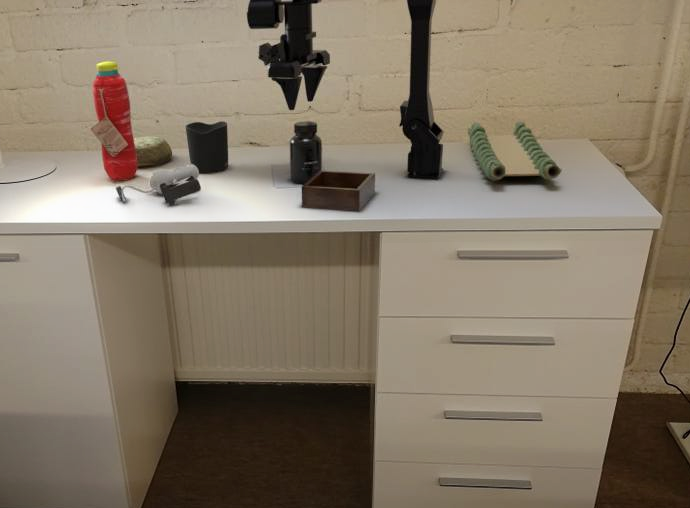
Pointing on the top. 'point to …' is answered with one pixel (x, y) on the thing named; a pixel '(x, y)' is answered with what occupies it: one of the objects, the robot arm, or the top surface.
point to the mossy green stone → (152, 151)
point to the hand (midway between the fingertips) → (301, 105)
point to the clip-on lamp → (171, 183)
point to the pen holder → (208, 146)
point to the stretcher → (511, 154)
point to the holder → (338, 190)
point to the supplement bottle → (305, 152)
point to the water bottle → (114, 122)
